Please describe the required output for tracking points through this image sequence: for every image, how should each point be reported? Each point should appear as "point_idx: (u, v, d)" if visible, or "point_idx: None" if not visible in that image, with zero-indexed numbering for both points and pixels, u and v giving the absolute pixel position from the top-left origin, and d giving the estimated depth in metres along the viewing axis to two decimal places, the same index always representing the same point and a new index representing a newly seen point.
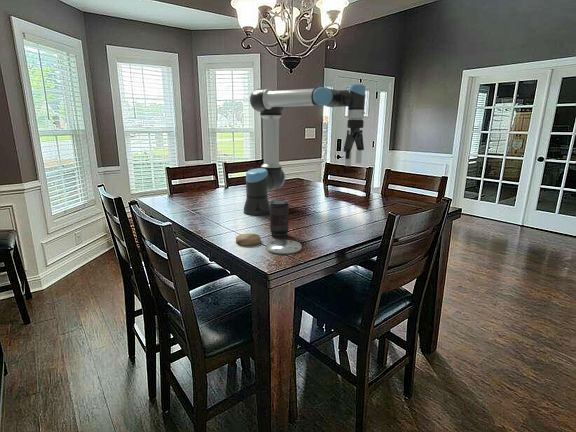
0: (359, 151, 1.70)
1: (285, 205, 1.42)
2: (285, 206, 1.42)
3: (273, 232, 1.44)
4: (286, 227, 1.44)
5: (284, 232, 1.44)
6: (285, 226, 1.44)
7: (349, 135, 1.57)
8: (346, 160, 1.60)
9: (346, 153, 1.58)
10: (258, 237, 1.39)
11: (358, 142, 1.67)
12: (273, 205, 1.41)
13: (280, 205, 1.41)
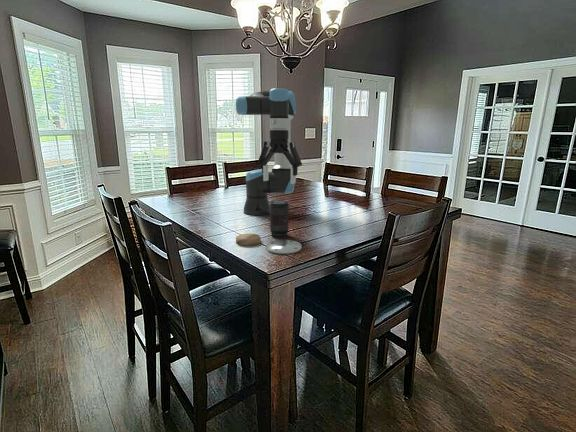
0: None
1: (285, 205, 1.42)
2: (285, 206, 1.42)
3: (273, 232, 1.44)
4: (286, 227, 1.44)
5: (284, 232, 1.44)
6: (285, 226, 1.44)
7: None
8: None
9: None
10: (258, 237, 1.39)
11: None
12: (273, 205, 1.41)
13: (280, 205, 1.41)
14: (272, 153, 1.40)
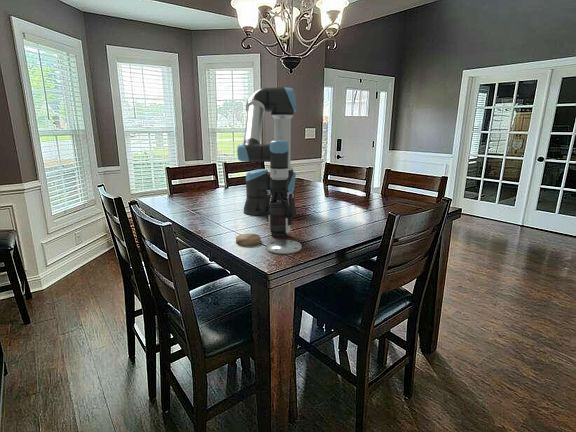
0: None
1: None
2: None
3: (273, 232, 1.44)
4: None
5: (284, 232, 1.44)
6: (285, 226, 1.44)
7: None
8: None
9: None
10: (258, 237, 1.39)
11: None
12: (273, 205, 1.41)
13: (280, 205, 1.41)
14: (274, 201, 1.45)
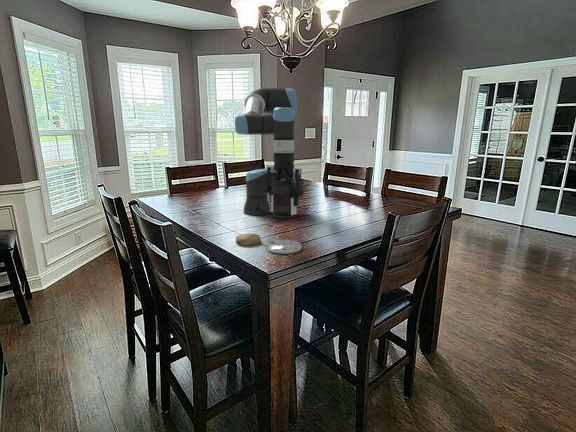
0: None
1: None
2: None
3: (276, 214, 1.26)
4: None
5: (289, 214, 1.26)
6: (290, 207, 1.26)
7: None
8: None
9: None
10: (258, 237, 1.39)
11: None
12: (276, 182, 1.23)
13: (284, 182, 1.22)
14: (278, 178, 1.27)
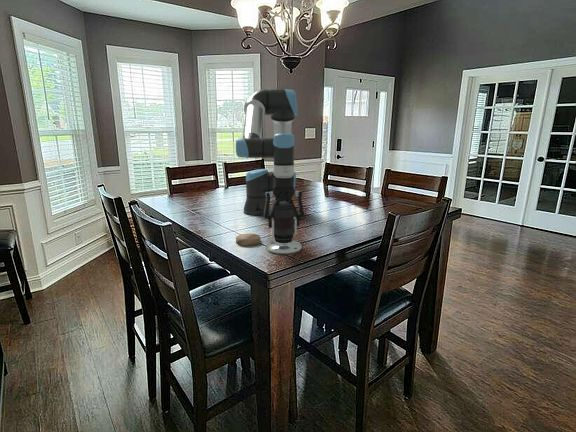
0: (294, 219, 1.30)
1: (293, 205, 1.28)
2: (293, 205, 1.28)
3: (284, 237, 1.28)
4: None
5: None
6: (293, 228, 1.31)
7: (266, 199, 1.26)
8: (271, 229, 1.30)
9: (268, 220, 1.29)
10: (258, 237, 1.39)
11: None
12: (284, 207, 1.25)
13: (291, 206, 1.26)
14: None
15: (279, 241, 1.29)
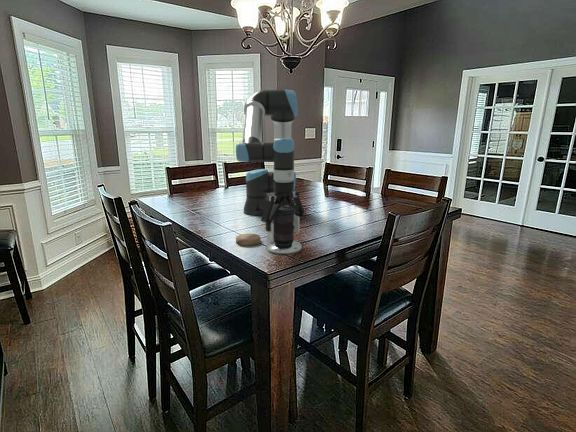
0: (296, 217, 1.34)
1: None
2: None
3: (289, 242, 1.29)
4: None
5: None
6: None
7: (269, 202, 1.23)
8: (268, 233, 1.27)
9: (266, 224, 1.25)
10: (258, 237, 1.39)
11: (292, 207, 1.31)
12: (289, 212, 1.26)
13: (293, 210, 1.28)
14: None
15: (284, 246, 1.29)
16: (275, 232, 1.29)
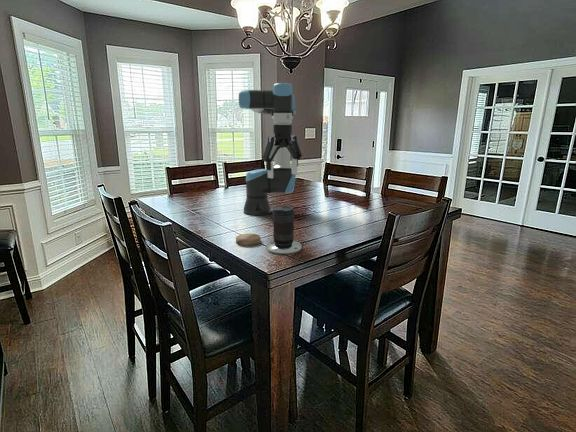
0: (294, 160, 1.46)
1: None
2: None
3: (289, 242, 1.29)
4: None
5: None
6: None
7: (269, 143, 1.35)
8: (268, 172, 1.39)
9: (266, 163, 1.37)
10: (258, 237, 1.39)
11: (290, 150, 1.43)
12: (289, 212, 1.26)
13: None
14: None
15: (284, 246, 1.29)
16: (275, 232, 1.29)
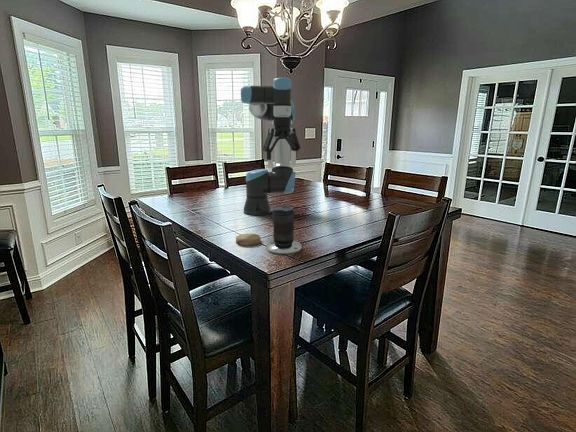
0: (293, 152, 1.54)
1: None
2: None
3: (289, 242, 1.29)
4: None
5: None
6: None
7: (269, 134, 1.43)
8: (268, 162, 1.46)
9: (267, 153, 1.44)
10: (258, 237, 1.39)
11: (289, 142, 1.51)
12: (289, 212, 1.26)
13: None
14: None
15: (284, 246, 1.29)
16: (275, 232, 1.29)
